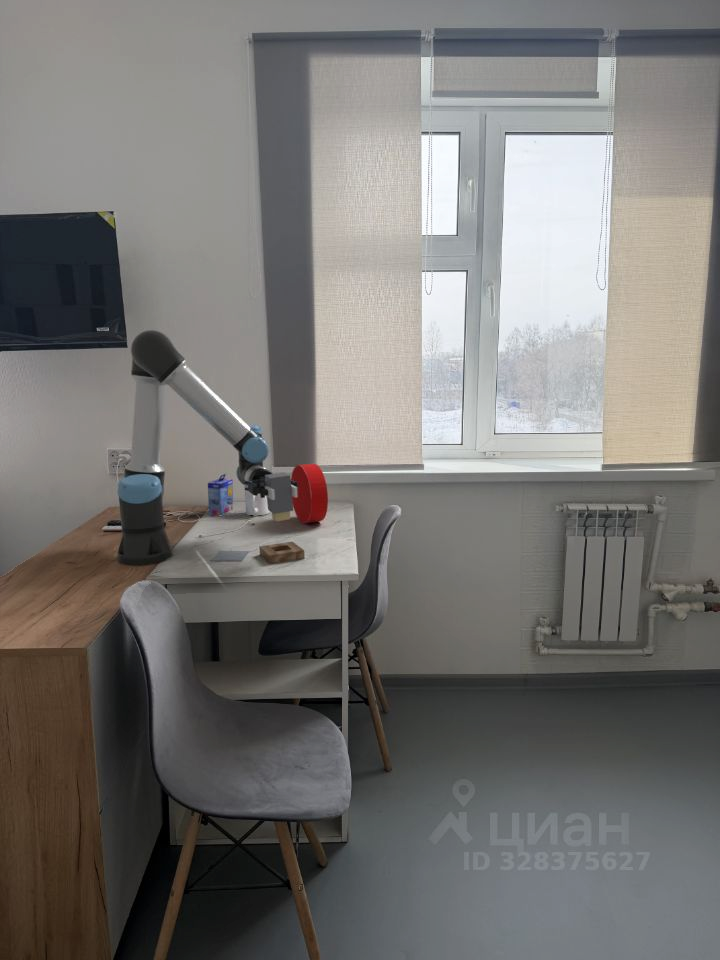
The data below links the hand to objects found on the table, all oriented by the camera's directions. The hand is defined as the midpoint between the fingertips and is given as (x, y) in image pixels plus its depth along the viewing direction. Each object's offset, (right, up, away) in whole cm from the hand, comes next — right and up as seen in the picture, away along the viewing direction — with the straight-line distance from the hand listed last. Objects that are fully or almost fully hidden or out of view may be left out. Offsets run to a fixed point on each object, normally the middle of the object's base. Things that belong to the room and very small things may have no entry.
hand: (284, 493), depth 180 cm
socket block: (-2, -18, +8) cm, 20 cm away
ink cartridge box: (-31, -9, +65) cm, 73 cm away
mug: (-17, -9, +61) cm, 64 cm away
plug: (-2, -7, +6) cm, 10 cm away
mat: (-17, -19, +10) cm, 27 cm away
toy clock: (+3, -11, +49) cm, 51 cm away
